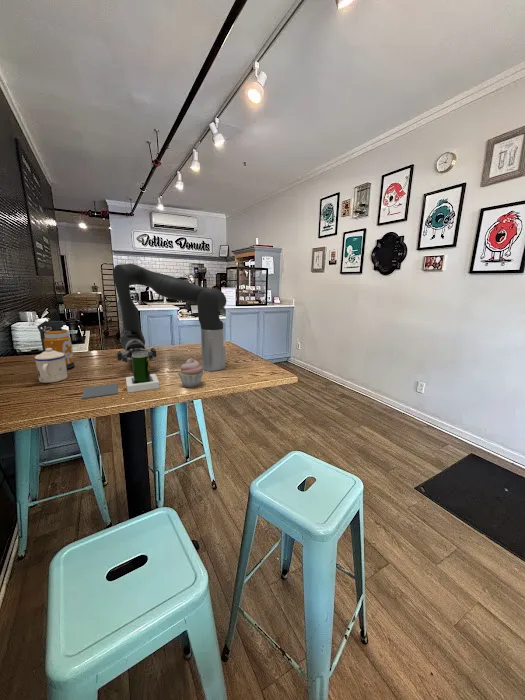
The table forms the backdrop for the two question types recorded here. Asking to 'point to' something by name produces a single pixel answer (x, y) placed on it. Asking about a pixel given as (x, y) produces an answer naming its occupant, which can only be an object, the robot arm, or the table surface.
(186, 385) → the cupcake
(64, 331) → the canister
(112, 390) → the mat
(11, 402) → the table surface
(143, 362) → the beer can
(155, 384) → the collar
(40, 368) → the teacup with lid
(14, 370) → the table surface
